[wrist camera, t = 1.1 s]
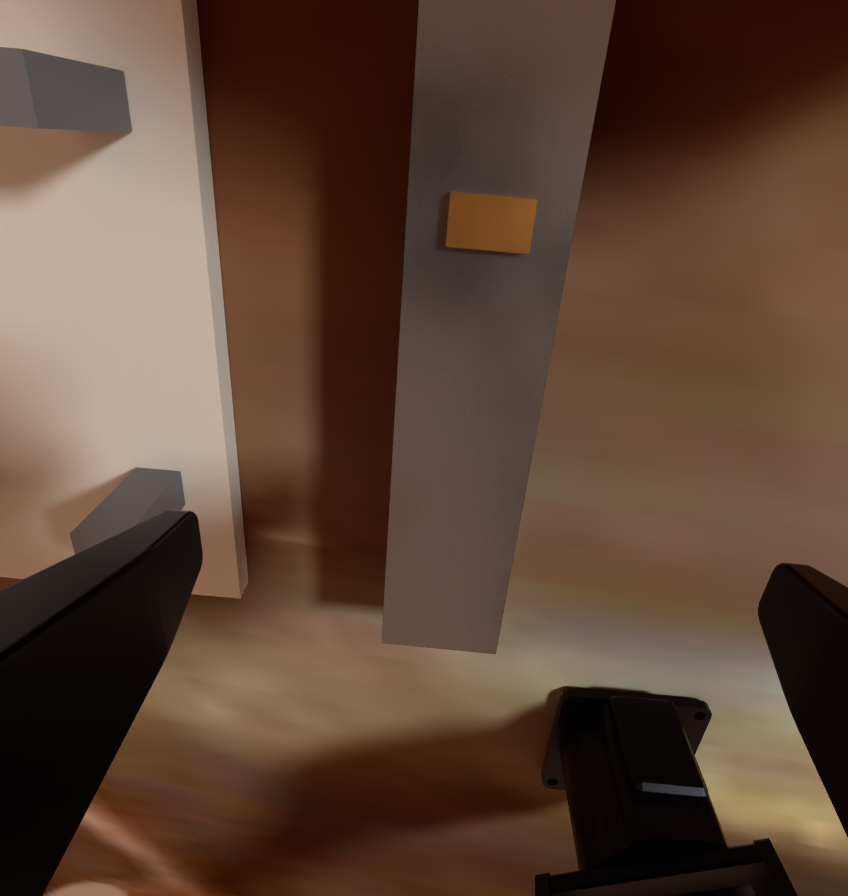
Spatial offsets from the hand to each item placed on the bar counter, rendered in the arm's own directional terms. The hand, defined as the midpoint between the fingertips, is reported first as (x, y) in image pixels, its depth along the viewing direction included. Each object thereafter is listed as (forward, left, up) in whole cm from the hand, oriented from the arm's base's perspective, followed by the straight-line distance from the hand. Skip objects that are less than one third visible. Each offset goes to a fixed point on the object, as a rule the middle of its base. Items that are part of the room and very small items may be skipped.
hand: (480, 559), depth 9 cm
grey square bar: (0, 0, -12) cm, 12 cm away
